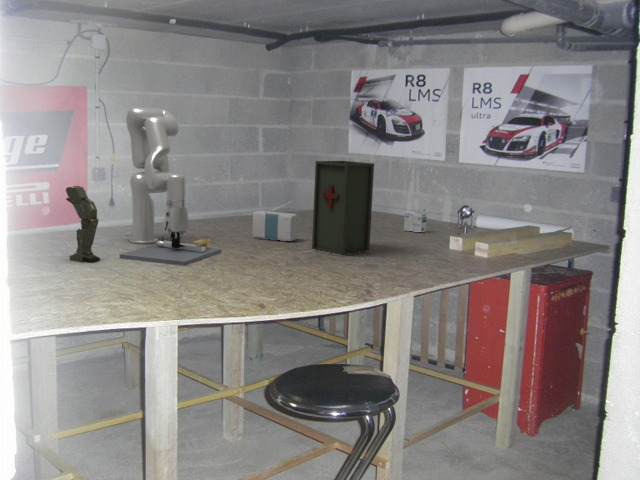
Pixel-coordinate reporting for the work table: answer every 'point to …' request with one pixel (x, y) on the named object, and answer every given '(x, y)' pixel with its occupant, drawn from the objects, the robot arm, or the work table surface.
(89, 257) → the mechanical leg
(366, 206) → the first aid box
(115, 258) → the work table surface
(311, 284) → the work table surface
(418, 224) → the light bulb box
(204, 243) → the strip
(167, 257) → the base plate
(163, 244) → the link
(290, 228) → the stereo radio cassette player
